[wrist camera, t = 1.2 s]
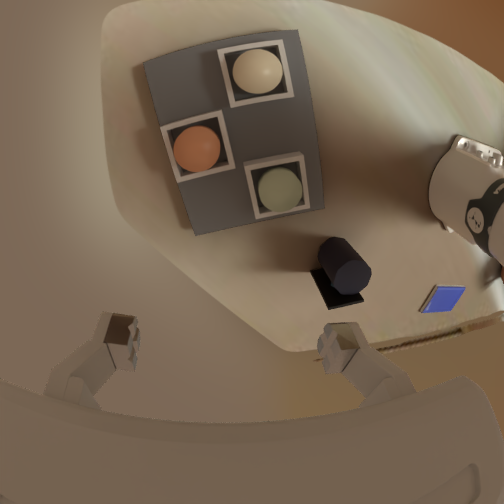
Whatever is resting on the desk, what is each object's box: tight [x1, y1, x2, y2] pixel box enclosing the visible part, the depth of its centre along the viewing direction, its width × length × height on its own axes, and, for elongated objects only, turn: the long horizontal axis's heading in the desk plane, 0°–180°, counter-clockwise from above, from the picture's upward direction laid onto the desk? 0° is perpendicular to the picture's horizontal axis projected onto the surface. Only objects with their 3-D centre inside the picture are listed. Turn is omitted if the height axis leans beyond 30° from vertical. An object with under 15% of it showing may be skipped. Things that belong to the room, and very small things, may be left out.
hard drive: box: [420, 285, 465, 313], centre depth 54 cm, size 2×8×12 cm
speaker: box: [310, 237, 372, 310], centre depth 39 cm, size 8×6×10 cm
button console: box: [143, 30, 325, 236], centre depth 30 cm, size 18×24×4 cm
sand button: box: [233, 49, 283, 94], centre depth 24 cm, size 5×5×2 cm
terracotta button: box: [173, 125, 220, 172], centre depth 28 cm, size 5×5×2 cm
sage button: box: [258, 167, 302, 212], centre depth 31 cm, size 5×5×2 cm
